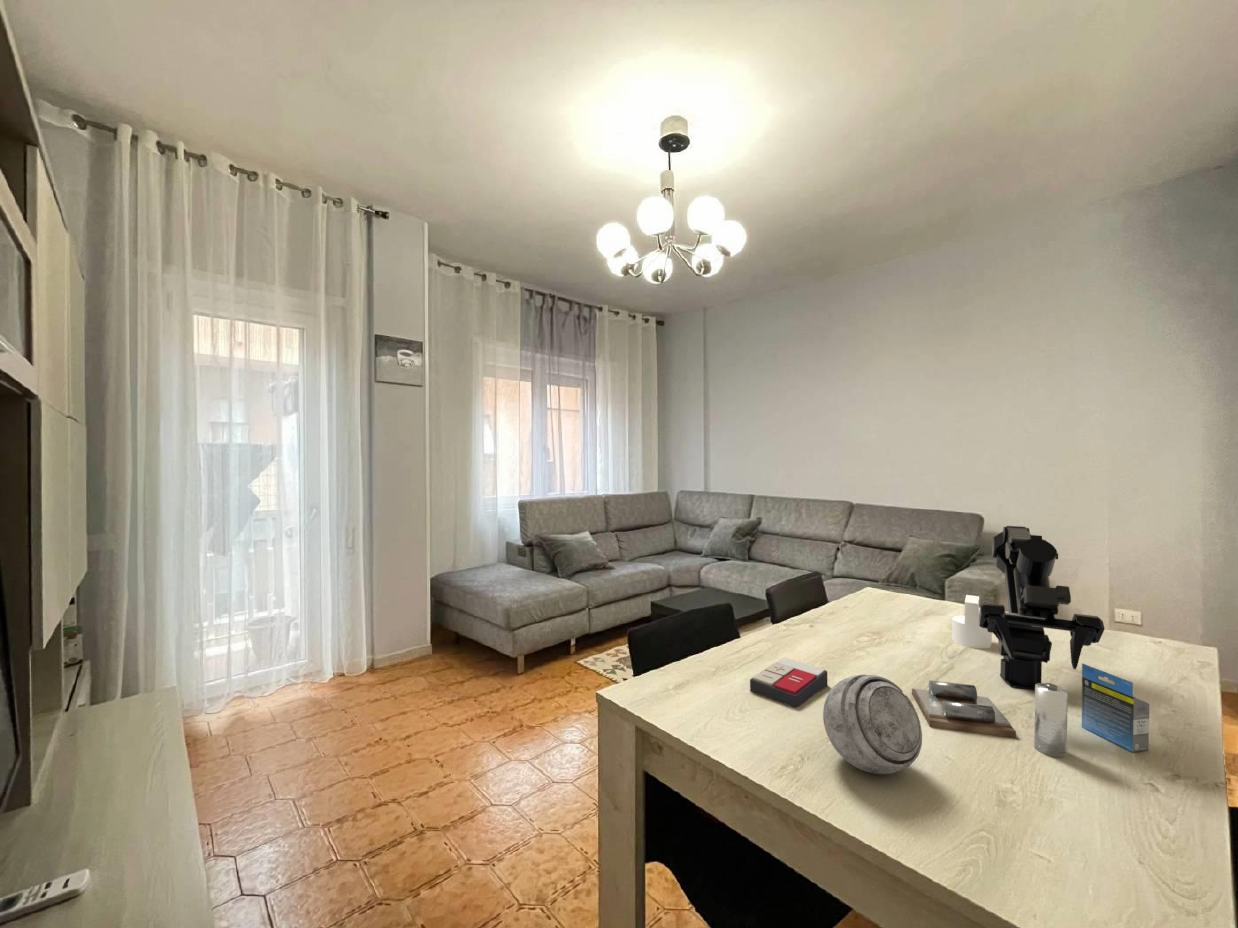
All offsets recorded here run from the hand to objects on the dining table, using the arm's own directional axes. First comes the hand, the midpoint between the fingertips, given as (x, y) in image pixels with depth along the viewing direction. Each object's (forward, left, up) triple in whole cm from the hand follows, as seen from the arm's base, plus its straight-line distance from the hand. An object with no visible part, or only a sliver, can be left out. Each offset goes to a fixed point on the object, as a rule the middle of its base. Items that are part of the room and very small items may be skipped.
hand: (1043, 663), depth 98 cm
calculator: (+45, -6, -14) cm, 47 cm away
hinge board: (+13, -3, -13) cm, 18 cm away
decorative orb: (+33, +21, -13) cm, 41 cm away
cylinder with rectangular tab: (-3, -49, -13) cm, 51 cm away
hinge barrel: (+2, +7, -13) cm, 15 cm away
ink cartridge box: (-11, -1, -13) cm, 17 cm away
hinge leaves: (+13, -3, -12) cm, 17 cm away
